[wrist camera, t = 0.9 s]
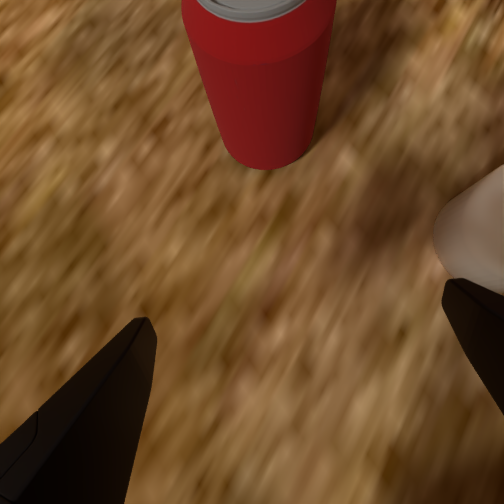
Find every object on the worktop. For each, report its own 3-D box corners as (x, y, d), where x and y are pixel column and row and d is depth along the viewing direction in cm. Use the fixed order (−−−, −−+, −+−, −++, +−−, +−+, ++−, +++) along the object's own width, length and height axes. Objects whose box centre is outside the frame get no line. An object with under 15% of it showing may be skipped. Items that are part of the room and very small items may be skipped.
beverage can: (288, 80, 24) (294, -139, 13) (329, 150, 23) (380, -23, 11) (209, 117, 24) (142, -68, 13) (245, 190, 23) (208, 58, 11)
